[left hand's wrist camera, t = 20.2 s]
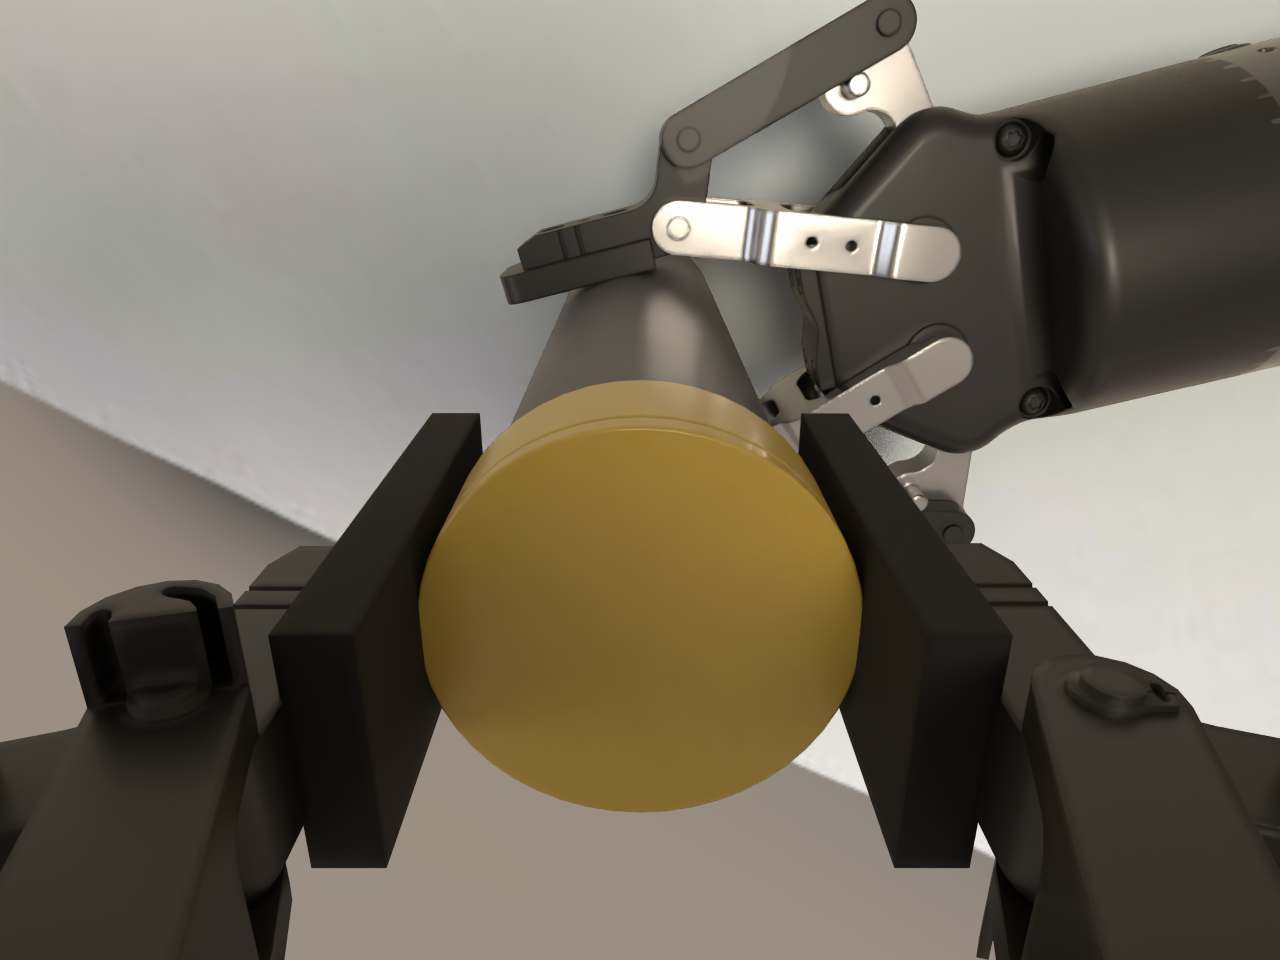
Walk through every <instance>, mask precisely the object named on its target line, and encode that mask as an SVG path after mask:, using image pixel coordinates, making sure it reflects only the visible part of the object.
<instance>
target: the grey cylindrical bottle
mask: <svg viewBox="0 0 1280 960" xmlns="http://www.w3.org/2000/svg"><path fill="white" fill-rule="evenodd" d="M655 260H656V268H657V269H654V270H650V271H646V272H642V273H638V274H634V275H630V276H626V277H620V278H616V279H612V280H609V281H606V282H603V283H599V284H595V285H591V286H587V287H583V288H579V289H575V290H571V291H570V293H569V295H568V297H567V300H566V302H565V304H564V306H563V309H562V311H561V313H560V315H559V318H558V320H557V322H556V324H555V327H554V329H553V331H552V333H551V336H550V338H549V340H548V343H547V345H546V347H545V349H544V352H543V354H542V356H541V358H540V361H539V363H538V365H537V367H536V370H535V372H534V374H533V376H532V379H531V381H530V383H529V385H528V388H527V390H526V392H525V394H524V397H523V399H522V401H521V403H520V406H519V408H518V410H517V413H516V415H515V417H514V419H513V422H512V424H513V423H514V422H515V421H517V420H518V419H519V418H521V417H522V416H524V415H526V414H527V413H529V412H530V411H532V410H533V409H535V408H536V407H538V406H540V405H542V404H544V403H546V402H548V401H550V400H552V399H554V398H557V397H559V396H561V395H563V394H566V393H569V392H572V391H575V390H579V389H582V388H585V387H588V386H593V385H598V384H604V383H609V382H615V381H632V380H650V381H664V382H673V383H677V384H682V385H687V386H692V387H697V388H700V389H703V390H706V391H708V392H711V393H714V394H717V395H720V396H723V397H725V398H727V399H729V400H731V401H733V402H735V403H737V404H739V405H741V406H743V407H745V408H746V409H748V410H749V411H751V412H752V413H754V414H755V415H757V416H758V417H760V418H761V419H763V420H764V421H766V422H767V423H768V424H769V422H768V420H767V417H766V415H765V413H764V411H763V408H762V406H761V404H760V402H759V399H758V397H757V395H756V393H755V390H754V388H753V386H752V384H751V381H750V379H749V377H748V375H747V372H746V370H745V368H744V366H743V363H742V361H741V359H740V357H739V354H738V352H737V350H736V347H735V345H734V343H733V341H732V338H731V336H730V334H729V332H728V329H727V327H726V325H725V323H724V320H723V318H722V316H721V314H720V311H719V309H718V307H717V305H716V302H715V300H714V298H713V296H712V293H711V291H710V289H709V287H708V284H707V282H706V280H705V278H704V276H703V274H702V272H701V271H700V270H699V268H698V267H697V265H696V264H695V263H694V262H693V261H692V260H691V259H690V258H689V257H688V256H682V255H673V254H671V255H668V256H664V257H660V258H656V259H655ZM512 424H511V425H512ZM769 425H770V424H769Z"/></svg>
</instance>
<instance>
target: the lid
mask: <svg viewBox="0 0 1280 960" xmlns="http://www.w3.org/2000/svg"><path fill="white" fill-rule="evenodd" d="M862 604H863V598H862V588H861V584H860V580H859V576H858V573H857V569H856V565H855V562H854V559H853V557H852V555H851V553H850V550H849V548H848V546H847V543H846V541H845V539H844V537H843V535H842V533H841V531H840V529H839V527H838V525H837V523H836V521H835V519H834V517H833V515H832V513H831V511H830V509H829V507H828V505H827V503H826V501H825V499H824V497H823V495H822V493H821V491H820V489H819V487H818V485H817V483H816V481H815V479H814V477H813V476H812V474H811V473H810V471H809V469H808V468H807V466H806V465H805V463H804V461H803V460H802V458H801V457H800V456H799V455H798V453H797V452H796V451H795V450H794V449H793V447H792V446H791V445H790V444H789V443H788V441H787V440H786V439H785V438H784V437H783V436H782V435H780V434H779V433H778V432H777V431H776V430H775V429H774V428H773V427H771V426H770V425H769V424H768V423H767V422H766V421H764V420H763V419H761V418H760V417H758V416H757V415H755V414H754V413H752V412H751V411H749V410H748V409H746V408H745V407H743V406H741V405H739V404H737V403H735V402H733V401H731V400H729V399H727V398H725V397H723V396H720V395H717V394H714V393H711V392H708V391H706V390H703V389H700V388H697V387H692V386H687V385H682V384H677V383H673V382H664V381H650V380H632V381H615V382H609V383H604V384H598V385H593V386H588V387H585V388H582V389H579V390H575V391H572V392H569V393H566V394H563V395H561V396H559V397H557V398H554V399H552V400H550V401H548V402H546V403H544V404H542V405H540V406H538V407H536V408H535V409H533V410H532V411H530V412H529V413H527V414H526V415H524V416H522V417H521V418H519V419H518V420H517V421H515V422H514V423H513V424H512V425H511V426H510V427H508V428H507V429H506V430H505V431H504V432H503V433H501V434H500V435H499V436H498V437H497V438H496V439H495V440H494V442H493V443H492V444H491V445H490V446H489V447H488V448H487V450H486V451H485V452H484V453H483V454H482V455H481V457H480V458H479V460H478V461H477V463H476V464H475V466H474V467H473V469H472V471H471V472H470V474H469V475H468V477H467V479H466V481H465V483H464V485H463V487H462V489H461V491H460V493H459V495H458V497H457V499H456V501H455V503H454V505H453V507H452V509H451V511H450V513H449V515H448V517H447V519H446V521H445V523H444V525H443V527H442V529H441V531H440V533H439V535H438V537H437V539H436V541H435V544H434V546H433V548H432V550H431V552H430V554H429V557H428V559H427V562H426V566H425V569H424V573H423V576H422V580H421V583H420V589H419V597H418V605H419V616H420V626H421V635H422V644H423V653H424V662H425V669H426V673H427V676H428V679H429V682H430V685H431V687H432V689H433V691H434V693H435V695H436V697H437V699H438V701H439V703H440V705H441V707H442V709H443V710H444V712H445V713H446V715H447V716H448V717H449V719H450V720H451V722H452V723H453V725H454V726H455V728H456V729H457V730H458V731H459V732H460V733H461V734H462V736H463V737H464V738H465V739H466V740H467V741H468V742H469V743H470V744H471V745H472V747H473V748H475V749H476V750H477V751H478V752H479V753H480V754H482V755H483V756H484V757H485V758H486V759H487V760H488V761H490V762H491V763H492V764H493V765H495V766H496V767H498V768H499V769H501V770H502V771H504V772H505V773H507V774H508V775H509V776H511V777H512V778H514V779H516V780H518V781H520V782H522V783H524V784H526V785H527V786H529V787H531V788H533V789H535V790H537V791H540V792H542V793H545V794H548V795H550V796H553V797H555V798H558V799H560V800H564V801H568V802H571V803H575V804H578V805H582V806H586V807H592V808H598V809H604V810H610V811H624V812H658V811H670V810H677V809H683V808H690V807H695V806H698V805H702V804H706V803H710V802H714V801H717V800H720V799H723V798H725V797H728V796H731V795H734V794H736V793H739V792H741V791H744V790H746V789H748V788H749V787H751V786H753V785H755V784H757V783H759V782H761V781H763V780H765V779H767V778H768V777H770V776H771V775H773V774H774V773H776V772H777V771H779V770H780V769H782V768H783V767H785V766H786V765H788V764H789V763H790V762H791V761H792V760H794V759H795V758H796V757H797V756H798V755H800V754H801V753H802V752H803V751H804V750H805V749H806V748H807V747H808V746H809V745H810V744H811V743H812V742H813V741H814V740H815V739H816V738H817V737H818V736H819V734H820V733H821V732H822V731H823V730H824V729H825V727H826V726H827V724H828V723H829V722H830V720H831V719H832V717H833V716H834V715H835V713H836V712H837V710H838V709H839V707H840V705H841V703H842V701H843V699H844V697H845V695H846V693H847V691H848V689H849V687H850V685H851V682H852V679H853V676H854V673H855V669H856V661H857V652H858V643H859V634H860V625H861V616H862Z"/></svg>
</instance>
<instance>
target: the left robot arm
mask: <svg viewBox="0 0 1280 960" xmlns="http://www.w3.org/2000/svg"><path fill="white" fill-rule="evenodd" d="M482 454H483V451H482V437H481V424H480V413H432V414H431V416H430V417H429V418H428V420H427V421H426V423H425V424H424V425H423V427H422V428H421V429H420V431H419V432H418V433H417V435H416V436H415V437H414V439H413V440H412V441H411V443H410V444H409V445H408V447H407V448H406V450H405V451H404V452H403V454H402V455H401V456H400V458H399V459H398V460H397V462H396V463H395V464H394V466H393V467H392V468H391V470H390V471H389V473H388V474H387V475H386V477H385V478H384V479H383V481H382V482H381V483H380V485H379V486H378V487H377V489H376V490H375V491H374V493H373V494H372V495H371V497H370V498H369V500H368V501H367V502H366V504H365V505H364V506H363V508H362V509H361V510H360V512H359V513H358V514H357V516H356V517H355V518H354V520H353V521H352V523H351V524H350V525H349V527H348V528H347V529H346V531H345V532H344V533H343V535H342V536H341V537H340V539H339V540H338V541H337V543H336V544H335V546H300V547H298V548H296V549H294V550H293V551H291V552H289V553H288V554H286V555H284V556H282V557H281V558H279V559H277V560H276V561H274V562H272V563H270V564H269V565H268V566H267V567H266V568H265V569H264V570H263V571H262V572H261V574H260V575H259V576H258V577H257V578H256V580H255V581H254V582H253V583H252V584H251V585H250V586H249V591H245V592H244V593H243V595H242V596H241V597H240V598H239V599H238V600H237V602H236V603H235V604H233V599H232V594H231V593H230V592H228V591H227V590H226V589H224V588H223V587H221V586H220V585H219V584H213V583H208V582H203V581H198V580H185V581H166V582H161V583H155V584H150V585H144V586H139V587H135V588H132V589H129V590H126V591H124V592H121V593H118V594H115V595H112V596H109V597H106V598H104V599H102V600H101V601H99V602H97V603H95V604H93V605H91V606H90V607H88V608H86V609H84V610H82V611H80V612H79V613H78V614H77V615H76V616H75V617H74V618H73V619H72V620H71V621H70V622H69V623H68V624H67V625H66V626H65V627H64V629H65V632H66V636H67V639H68V643H69V646H70V650H71V653H72V656H73V660H74V663H75V667H76V670H77V674H78V677H79V681H80V684H81V688H82V691H83V695H84V698H85V701H86V705H87V710H86V712H85V714H84V716H83V718H82V719H81V721H80V723H79V725H78V727H75V728H72V729H67V730H63V731H58V732H53V733H47V734H42V735H37V736H32V737H27V738H21V739H16V740H11V741H5V742H1V743H0V960H284V958H285V950H286V943H287V935H288V928H289V920H290V912H291V905H292V896H291V889H290V882H289V877H288V872H287V867H286V860H287V858H288V856H289V854H290V852H291V850H292V848H293V846H294V844H295V842H296V840H297V838H298V836H299V834H300V831H301V829H302V827H303V825H304V831H305V836H306V841H307V847H308V852H309V857H310V863H311V868H387V865H388V862H389V859H390V856H391V854H392V851H393V848H394V845H395V842H396V839H397V836H398V833H399V830H400V827H401V825H402V821H403V819H404V816H405V813H406V810H407V807H408V804H409V801H410V798H411V796H412V793H413V790H414V787H415V784H416V781H417V778H418V775H419V772H420V769H421V766H422V763H423V761H424V758H425V755H426V752H427V749H428V746H429V743H430V740H431V737H432V735H433V732H434V729H435V726H436V723H437V720H438V717H439V714H440V711H441V708H442V707H441V705H440V703H439V701H438V699H437V697H436V695H435V693H434V691H433V689H432V687H431V685H430V682H429V679H428V676H427V673H426V669H425V662H424V653H423V644H422V635H421V626H420V616H419V605H418V597H419V589H420V583H421V580H422V576H423V573H424V569H425V566H426V562H427V559H428V557H429V554H430V552H431V550H432V548H433V546H434V544H435V541H436V539H437V537H438V535H439V533H440V531H441V529H442V527H443V525H444V523H445V521H446V519H447V517H448V515H449V513H450V511H451V509H452V507H453V505H454V503H455V501H456V499H457V497H458V495H459V493H460V491H461V489H462V487H463V485H464V483H465V481H466V479H467V477H468V475H469V474H470V472H471V471H472V469H473V467H474V466H475V464H476V463H477V461H478V460H479V458H480V457H481V455H482ZM798 455H799V456H800V457H801V458H802V460H803V461H804V463H805V465H806V466H807V468H808V469H809V471H810V473H811V474H812V476H813V477H814V479H815V481H816V483H817V485H818V487H819V489H820V491H821V493H822V495H823V497H824V499H825V501H826V503H827V505H828V507H829V509H830V511H831V513H832V515H833V517H834V519H835V521H836V523H837V525H838V527H839V529H840V531H841V533H842V535H843V537H844V539H845V541H846V543H847V546H848V548H849V550H850V553H851V555H852V557H853V559H854V562H855V565H856V569H857V573H858V576H859V580H860V584H861V588H862V598H863V604H862V616H861V625H860V634H859V643H858V652H857V661H856V669H855V673H854V676H853V679H852V682H851V685H850V687H849V689H848V691H847V693H846V695H845V697H844V699H843V701H842V703H841V705H840V707H839V709H840V712H841V715H842V717H843V720H844V723H845V726H846V729H847V732H848V735H849V738H850V741H851V744H852V746H853V749H854V752H855V755H856V758H857V761H858V764H859V767H860V770H861V773H862V775H863V778H864V781H865V784H866V787H867V790H868V793H869V796H870V799H871V802H872V805H873V807H874V810H875V813H876V816H877V819H878V822H879V825H880V828H881V831H882V834H883V836H884V839H885V842H886V845H887V848H888V851H889V854H890V857H891V860H892V862H893V865H894V868H969V867H970V862H971V857H972V852H973V846H974V841H975V836H976V831H977V825H978V823H979V825H980V827H981V829H982V831H983V833H984V835H985V837H986V839H987V841H988V843H989V845H990V847H991V850H992V852H993V854H994V856H995V862H994V867H993V872H992V877H991V882H990V887H989V892H988V897H987V902H986V907H985V912H984V917H983V922H982V926H981V931H980V936H979V943H978V949H977V957H978V958H983V959H987V960H988V959H989V955H990V950H991V945H992V941H994V948H995V956H996V960H1280V738H1275V737H1270V736H1265V735H1260V734H1254V733H1249V732H1244V731H1239V730H1233V729H1228V728H1223V727H1218V726H1214V725H1210V724H1205V723H1201V721H1200V720H1199V718H1198V716H1197V714H1196V712H1195V710H1194V708H1193V707H1192V706H1191V704H1190V703H1189V702H1188V701H1187V700H1186V699H1185V697H1184V696H1183V695H1182V694H1181V693H1180V692H1179V690H1178V689H1176V688H1175V687H1173V686H1171V685H1170V684H1168V683H1167V682H1165V681H1164V680H1162V679H1161V678H1159V677H1158V676H1156V675H1155V674H1153V673H1150V672H1148V671H1145V670H1143V669H1140V668H1138V667H1135V666H1133V665H1130V664H1128V663H1125V662H1122V661H1117V660H1113V659H1108V658H1104V657H1099V656H1095V655H1094V654H1093V653H1092V652H1091V651H1090V649H1089V648H1088V647H1087V646H1086V645H1085V644H1084V642H1083V641H1082V640H1081V639H1080V638H1079V637H1078V636H1077V634H1076V633H1075V632H1074V631H1073V630H1072V629H1071V628H1070V626H1069V625H1068V624H1067V623H1066V622H1065V621H1064V619H1063V618H1062V617H1061V616H1060V615H1059V614H1058V613H1057V611H1056V610H1055V609H1054V608H1053V607H1052V606H1048V601H1047V600H1046V599H1045V598H1044V596H1043V595H1042V594H1041V593H1040V592H1039V591H1038V590H1037V588H1032V583H1031V581H1030V580H1029V579H1028V578H1027V577H1026V576H1025V575H1024V573H1023V572H1022V571H1021V570H1020V569H1019V568H1018V567H1017V565H1016V564H1015V563H1014V562H1013V561H1011V560H1009V559H1008V558H1006V557H1004V556H1002V555H1001V554H999V553H997V552H995V551H994V550H992V549H990V548H989V547H987V546H985V545H983V544H982V543H944V541H943V540H942V539H941V537H940V536H939V535H938V533H937V532H936V531H935V529H934V528H933V527H932V525H931V524H930V523H929V521H928V520H927V518H926V517H925V516H924V514H923V513H922V512H921V510H920V509H919V508H918V506H917V505H916V504H915V502H914V501H913V500H912V498H911V497H910V496H909V494H908V493H907V491H906V490H905V489H904V487H903V486H902V485H901V483H900V482H899V481H898V479H897V478H896V477H895V475H894V474H893V473H892V471H891V470H890V469H889V467H888V466H887V464H886V463H885V462H884V460H883V459H882V458H881V456H880V455H879V454H878V452H877V451H876V450H875V448H874V447H873V446H872V444H871V443H870V442H869V440H868V439H867V437H866V436H865V435H864V433H863V432H862V431H861V429H860V428H859V427H858V425H857V424H856V423H855V421H854V420H853V419H852V417H851V416H850V415H849V413H801V422H800V436H799V450H798Z"/></svg>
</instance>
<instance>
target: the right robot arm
mask: <svg viewBox="0 0 1280 960" xmlns="http://www.w3.org/2000/svg"><path fill="white" fill-rule="evenodd" d="M916 23H917V14H916V10H915V7H914V5H913V3H912V1H911V0H867V1H865V2H863V3H862V4H860V5H858V6H857V7H855V8H853V9H851V10H850V11H848V12H846V13H845V14H843V15H841V16H840V17H838V18H836V19H835V20H833V21H831V22H830V23H828V24H826V25H824V26H823V27H821V28H819V29H818V30H816V31H814V32H813V33H811V34H809V35H808V36H806V37H804V38H802V39H801V40H799V41H797V42H796V43H794V44H792V45H791V46H789V47H787V48H786V49H784V50H782V51H781V52H779V53H777V54H775V55H774V56H772V57H770V58H769V59H767V60H765V61H764V62H762V63H760V64H759V65H757V66H755V67H754V68H752V69H750V70H748V71H747V72H745V73H743V74H742V75H740V76H738V77H737V78H735V79H733V80H732V81H730V82H728V83H726V84H725V85H723V86H721V87H720V88H718V89H716V90H715V91H713V92H711V93H710V94H708V95H706V96H705V97H703V98H701V99H699V100H698V101H696V102H694V103H693V104H691V105H689V106H688V107H686V108H684V109H683V110H681V111H679V112H678V113H676V114H674V115H672V116H671V117H670V118H668V119H667V120H666V121H665V123H664V124H663V126H662V128H661V131H660V136H659V149H658V159H657V168H656V177H655V182H654V185H653V188H652V190H651V191H650V193H649V194H648V196H647V197H646V198H645V199H644V200H642V201H641V202H639V203H637V204H635V205H633V206H629V207H625V208H622V209H618V210H614V211H610V212H606V213H602V214H599V215H595V216H591V217H587V218H583V219H580V220H576V221H572V222H568V223H565V224H560V225H557V226H553V227H549V228H545V229H541V230H540V231H539V232H537V233H536V234H535V235H534V236H532V237H531V238H530V239H528V240H527V241H526V242H525V243H524V244H522V245H521V246H520V247H519V248H518V249H517V250H518V253H519V257H520V260H521V263H519V264H516V265H514V266H511V267H509V268H507V269H506V270H505V271H504V272H503V273H502V274H501V275H500V278H501V282H502V285H503V288H504V291H505V295H506V298H507V301H508V304H510V305H512V304H519V303H524V302H528V301H532V300H536V299H540V298H544V297H547V296H551V295H555V294H559V293H563V292H567V291H571V290H575V289H579V288H583V287H587V286H591V285H595V284H599V283H603V282H606V281H609V280H612V279H616V278H620V277H626V276H630V275H634V274H638V273H642V272H646V271H650V270H654V269H657V268H656V260H655V259H656V258H660V257H664V256H668V255H671V254H673V255H682V256H693V257H704V258H715V259H726V260H737V261H746V262H751V263H754V264H759V265H765V266H773V267H784V268H787V269H788V274H789V280H790V285H791V288H792V290H793V292H794V294H795V296H796V298H797V300H798V302H799V304H800V306H801V308H802V310H803V314H804V318H803V329H802V341H801V345H802V351H803V356H804V361H805V365H804V366H803V367H801V368H799V369H798V370H796V371H795V372H793V373H791V374H790V375H788V376H786V377H785V378H783V379H781V380H780V381H778V382H777V383H776V384H774V385H773V386H772V387H771V388H770V390H769V391H768V393H767V394H766V395H765V396H764V397H762V398H761V399H759V402H760V404H761V406H762V408H763V411H764V413H765V415H766V417H767V420H768V422H769V424H770V426H771V427H773V428H774V429H775V430H776V431H777V432H778V433H779V434H780V435H782V436H783V437H784V438H785V439H786V440H787V441H788V443H789V444H790V445H791V446H792V447H793V449H794V450H795V451H796V452H797V453H798V450H799V436H800V422H801V413H849V415H850V416H851V417H852V419H853V420H854V421H855V423H856V424H857V425H858V427H859V428H860V429H861V431H862V432H863V433H866V432H868V431H869V430H871V429H873V428H875V427H876V426H880V427H882V428H885V429H887V430H890V431H892V432H895V433H897V434H900V435H902V436H905V437H907V438H910V439H912V440H915V441H917V442H920V443H923V444H925V446H924V448H923V450H922V451H921V452H920V453H919V454H918V455H916V456H915V457H913V458H911V459H908V460H901V461H896V462H894V463H892V464H890V465H889V466H888V467H889V469H890V470H891V471H892V473H893V474H894V475H895V477H896V478H897V479H898V481H899V482H900V483H901V485H902V486H903V487H904V489H905V490H906V491H907V493H908V494H909V496H910V497H911V498H912V500H913V501H914V502H915V504H916V505H917V506H918V508H919V509H920V510H921V512H922V513H923V514H924V516H925V517H926V518H927V520H928V521H929V523H930V524H931V525H932V527H933V528H934V529H935V531H936V532H937V533H938V535H939V536H940V537H941V539H942V540H943V541H944V543H970V542H971V541H972V539H973V537H974V533H975V526H974V523H973V521H972V520H971V518H970V517H969V516H968V515H967V514H966V512H965V511H964V508H963V502H964V496H965V490H966V484H967V478H968V472H969V466H970V460H971V453H972V451H975V450H977V449H980V448H982V447H984V446H985V445H987V444H988V443H990V442H991V441H992V440H993V439H995V438H996V437H997V436H998V435H1000V434H1001V433H1003V432H1004V431H1006V430H1007V429H1009V428H1011V427H1012V426H1014V425H1017V424H1019V423H1021V422H1023V421H1027V420H1031V419H1037V418H1044V417H1052V416H1060V415H1066V414H1072V413H1077V412H1081V411H1085V410H1090V409H1094V408H1098V407H1103V406H1107V405H1111V404H1116V403H1120V402H1124V401H1129V400H1133V399H1137V398H1142V397H1146V396H1150V395H1155V394H1159V393H1163V392H1168V391H1172V390H1176V389H1181V388H1185V387H1189V386H1194V385H1199V384H1203V383H1208V382H1212V381H1216V380H1221V379H1225V378H1229V377H1234V376H1238V375H1242V374H1246V373H1250V372H1254V371H1259V370H1263V369H1267V368H1272V367H1276V366H1280V37H1279V38H1275V39H1271V40H1267V41H1263V42H1259V43H1255V44H1251V43H1246V44H1240V45H1238V44H1233V45H1229V46H1225V47H1222V48H1219V49H1216V50H1213V51H1211V52H1208V53H1206V54H1204V55H1202V56H1200V57H1199V58H1198V59H1195V60H1190V61H1186V62H1183V63H1179V64H1175V65H1171V66H1167V67H1164V68H1160V69H1156V70H1152V71H1148V72H1145V73H1141V74H1137V75H1134V76H1130V77H1126V78H1122V79H1118V80H1115V81H1111V82H1107V83H1103V84H1099V85H1095V86H1092V87H1088V88H1084V89H1080V90H1076V91H1072V92H1069V93H1065V94H1061V95H1057V96H1053V97H1049V98H1046V99H1042V100H1038V101H1034V102H1030V103H1027V104H1023V105H1019V106H1015V107H1011V108H1007V109H1004V110H1000V111H996V112H992V113H987V114H982V115H975V114H969V113H965V112H961V111H958V110H955V109H952V108H948V107H933V104H932V102H931V99H930V97H929V94H928V91H927V89H926V86H925V84H924V81H923V79H922V76H921V73H920V71H919V68H918V66H917V63H916V61H915V58H914V55H913V53H912V50H911V48H910V45H909V41H910V40H911V38H912V36H913V34H914V32H915V29H916ZM816 98H818V99H819V102H820V104H821V105H822V107H823V108H824V109H825V110H826V111H827V112H829V113H830V114H833V115H836V116H848V115H855V114H858V113H861V112H864V111H869V112H872V113H874V114H876V115H877V116H878V117H880V118H881V120H882V121H883V123H884V124H885V127H884V129H883V130H882V131H881V132H880V133H879V134H878V135H877V137H876V138H875V139H874V140H873V141H872V142H871V143H870V145H869V146H868V147H867V148H866V149H865V150H864V151H863V153H862V154H861V155H860V156H859V157H858V158H857V160H856V161H855V162H854V163H853V164H852V165H851V166H850V168H849V169H848V170H847V171H846V172H845V173H844V174H843V176H842V177H841V178H840V179H839V180H838V181H837V182H836V184H835V185H834V186H833V187H832V188H831V189H830V190H829V192H828V193H827V194H826V195H825V196H824V197H823V198H822V200H821V201H820V202H819V203H818V204H817V205H805V204H794V203H783V202H772V201H761V200H738V199H727V198H716V197H707V192H708V184H709V176H710V168H711V160H712V158H714V157H716V156H717V155H719V154H721V153H722V152H724V151H726V150H728V149H729V148H731V147H733V146H735V145H736V144H738V143H740V142H742V141H743V140H745V139H747V138H748V137H750V136H752V135H754V134H755V133H757V132H759V131H761V130H762V129H764V128H766V127H768V126H769V125H771V124H773V123H775V122H776V121H778V120H780V119H781V118H783V117H785V116H787V115H788V114H790V113H792V112H794V111H795V110H797V109H799V108H801V107H802V106H804V105H806V104H807V103H809V102H811V101H813V100H814V99H816ZM815 385H816V386H817V387H815Z"/></svg>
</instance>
